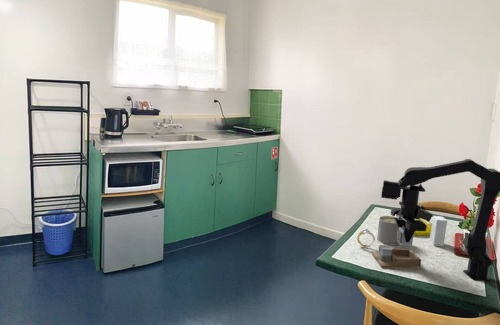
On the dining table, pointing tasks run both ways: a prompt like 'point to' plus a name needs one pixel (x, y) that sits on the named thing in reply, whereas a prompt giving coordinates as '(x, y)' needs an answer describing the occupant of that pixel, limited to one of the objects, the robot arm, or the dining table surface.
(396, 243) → the coffee mug
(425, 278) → the dining table surface
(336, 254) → the dining table surface
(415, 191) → the robot arm
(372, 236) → the ring
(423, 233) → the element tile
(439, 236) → the skincare box
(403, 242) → the block
